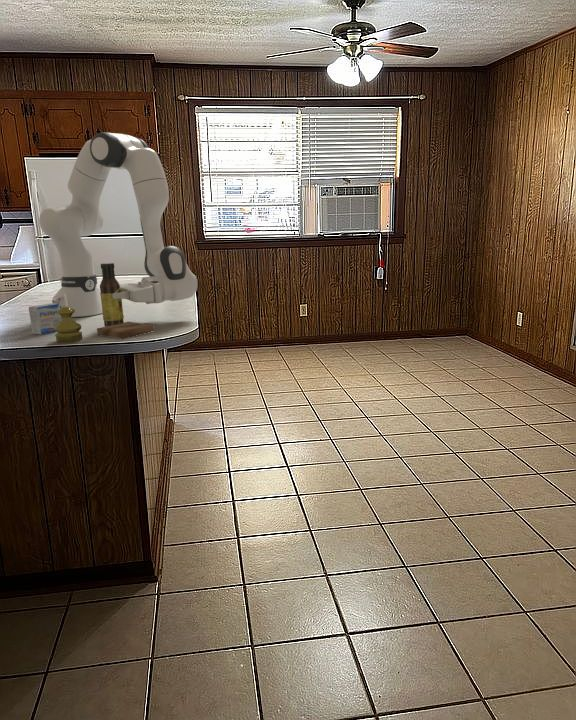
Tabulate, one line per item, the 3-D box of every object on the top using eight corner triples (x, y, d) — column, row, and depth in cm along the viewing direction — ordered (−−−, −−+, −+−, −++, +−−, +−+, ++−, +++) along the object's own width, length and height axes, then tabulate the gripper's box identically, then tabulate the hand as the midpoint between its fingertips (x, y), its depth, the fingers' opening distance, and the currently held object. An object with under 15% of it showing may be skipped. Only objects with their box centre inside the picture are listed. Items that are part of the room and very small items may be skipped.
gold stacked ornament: (74, 343, 162) (70, 309, 159) (51, 343, 163) (46, 309, 160) (87, 337, 169) (83, 304, 166) (65, 337, 170) (60, 304, 167)
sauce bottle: (125, 326, 179) (119, 263, 174) (105, 328, 177) (98, 264, 171) (122, 322, 185) (116, 261, 179) (102, 324, 182) (95, 262, 177)
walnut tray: (97, 334, 172) (96, 328, 172) (129, 327, 182) (128, 321, 181) (122, 339, 165) (122, 331, 165) (154, 331, 175) (153, 324, 174)
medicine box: (40, 335, 175) (36, 307, 173) (32, 333, 177) (27, 306, 175) (62, 330, 181) (58, 303, 179) (53, 329, 184) (50, 302, 181)
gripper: (138, 277, 193) (97, 281, 185) (161, 283, 176) (117, 288, 169) (140, 296, 194) (99, 300, 187) (162, 303, 178) (119, 308, 171)
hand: (108, 294), depth 178 cm, fingers closed on sauce bottle, 6 cm apart
